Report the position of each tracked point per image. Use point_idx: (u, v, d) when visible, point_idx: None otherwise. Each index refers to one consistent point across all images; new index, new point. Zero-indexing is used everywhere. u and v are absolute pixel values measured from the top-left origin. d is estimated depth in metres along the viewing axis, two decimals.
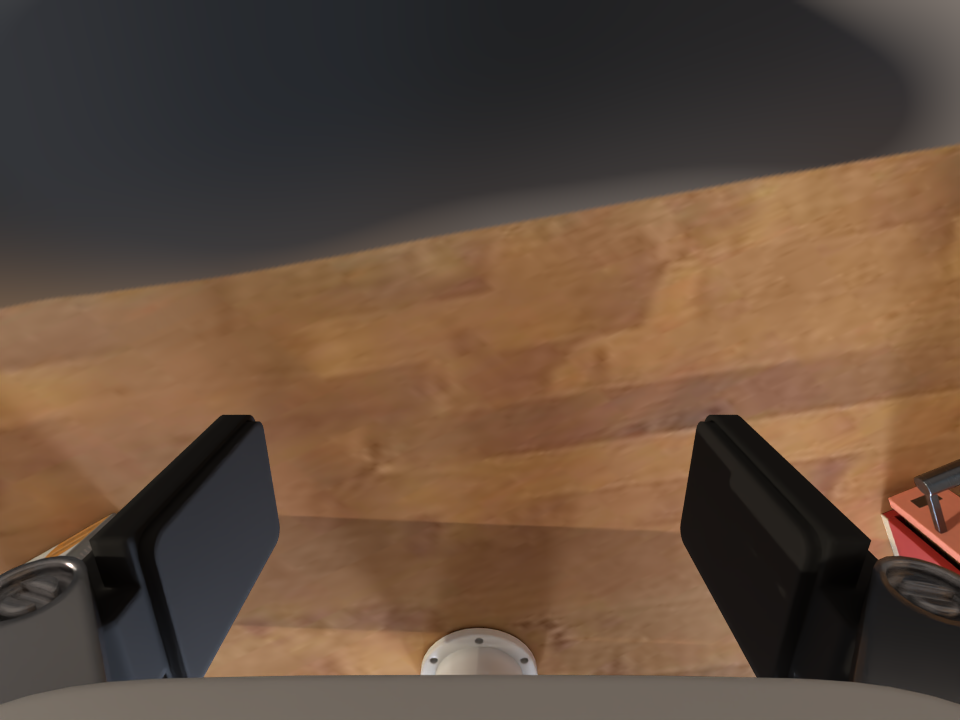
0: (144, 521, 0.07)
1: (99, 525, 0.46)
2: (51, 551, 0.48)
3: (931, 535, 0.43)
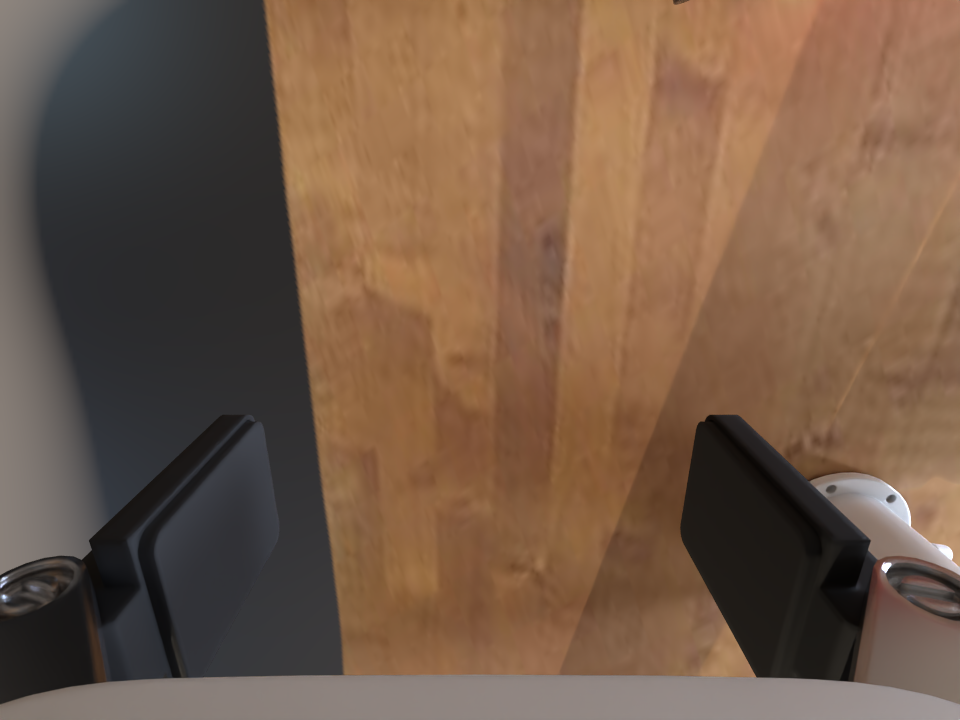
0: (144, 521, 0.07)
1: None
2: None
3: None
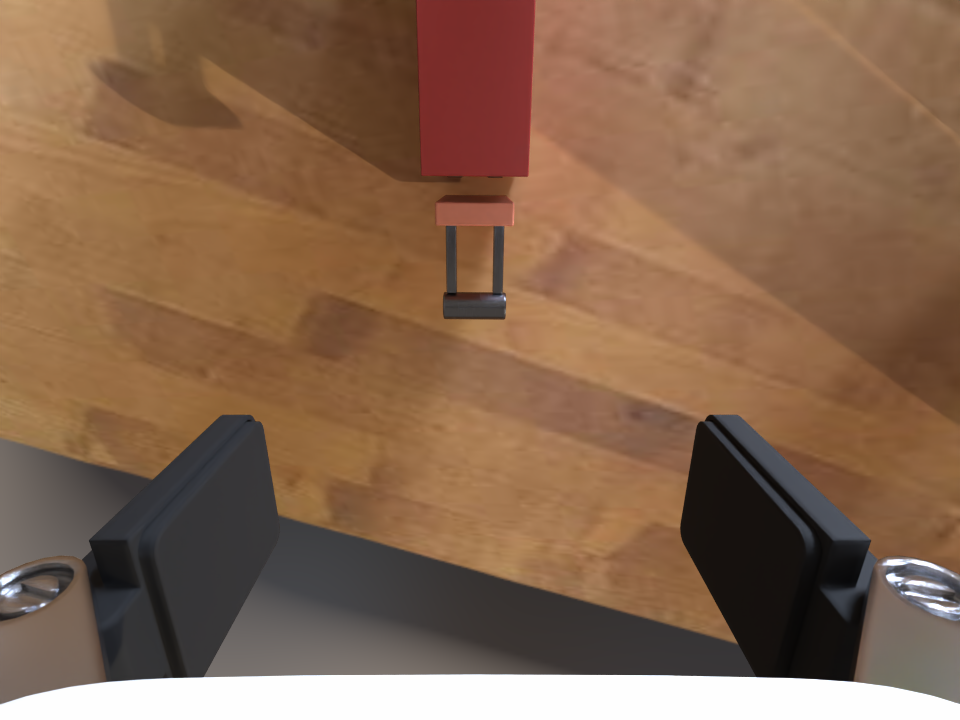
0: (144, 521, 0.07)
1: None
2: None
3: None
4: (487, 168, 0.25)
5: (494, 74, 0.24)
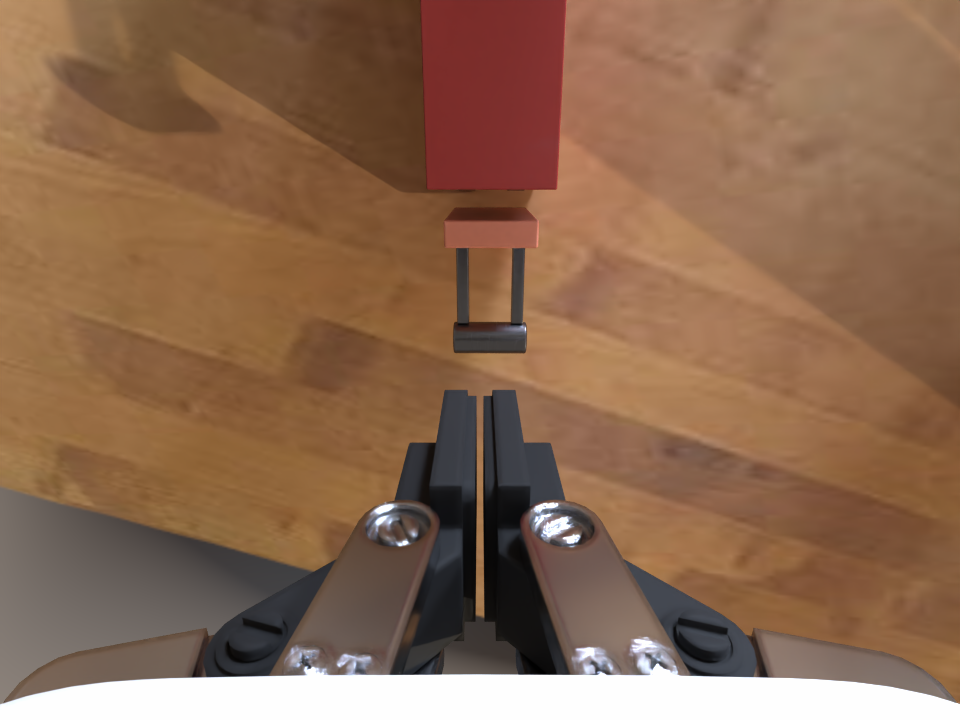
0: (459, 472, 0.08)
1: None
2: None
3: None
4: (507, 180, 0.21)
5: (516, 65, 0.19)
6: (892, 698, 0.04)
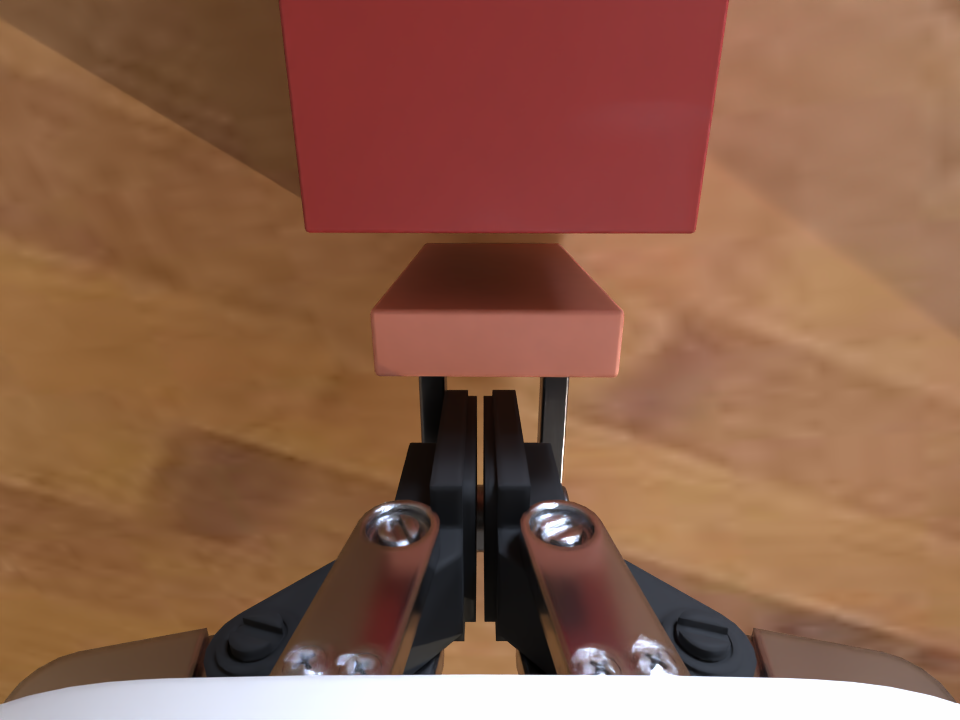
0: (459, 472, 0.08)
1: None
2: None
3: None
4: (546, 207, 0.07)
5: None
6: (892, 698, 0.04)
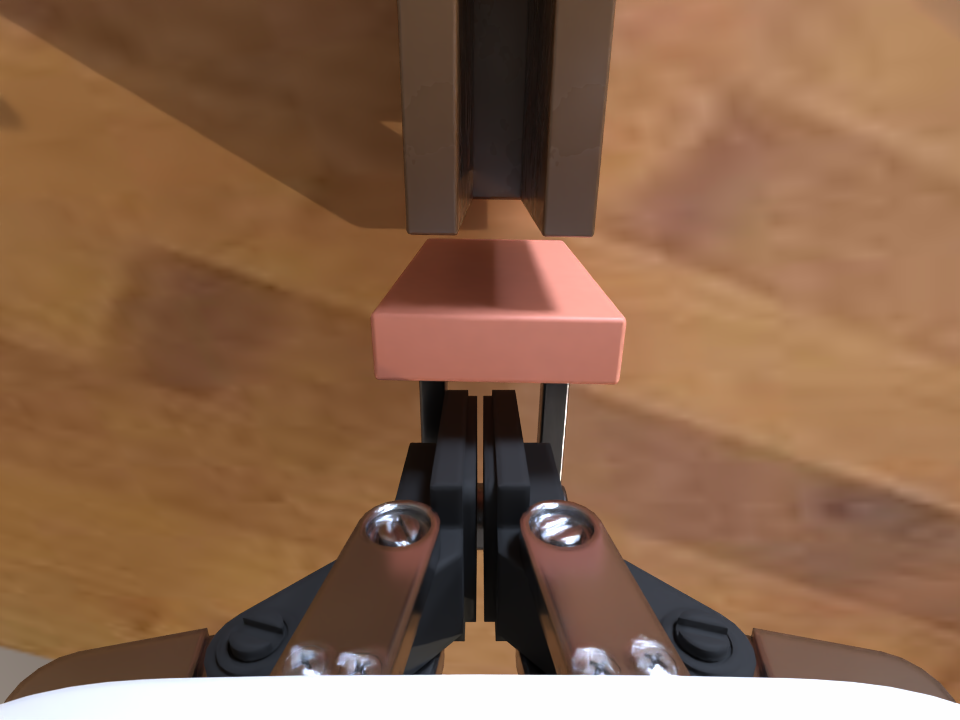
0: (460, 472, 0.08)
1: None
2: None
3: None
4: None
5: None
6: (892, 698, 0.04)
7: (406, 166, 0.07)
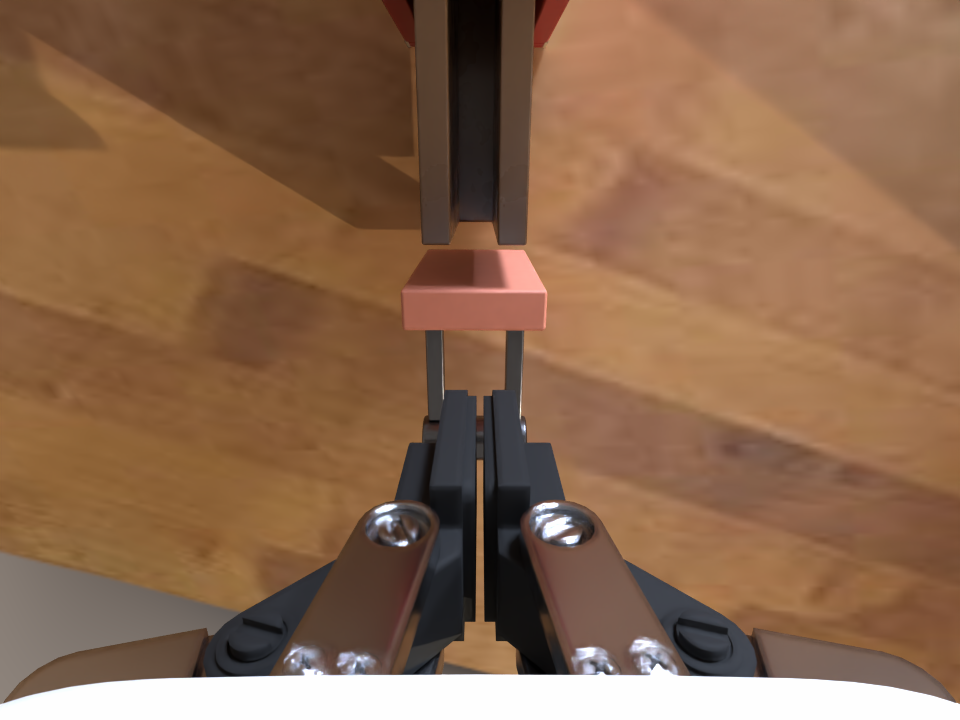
0: (459, 472, 0.08)
1: None
2: None
3: None
4: None
5: None
6: (892, 698, 0.04)
7: (422, 207, 0.14)
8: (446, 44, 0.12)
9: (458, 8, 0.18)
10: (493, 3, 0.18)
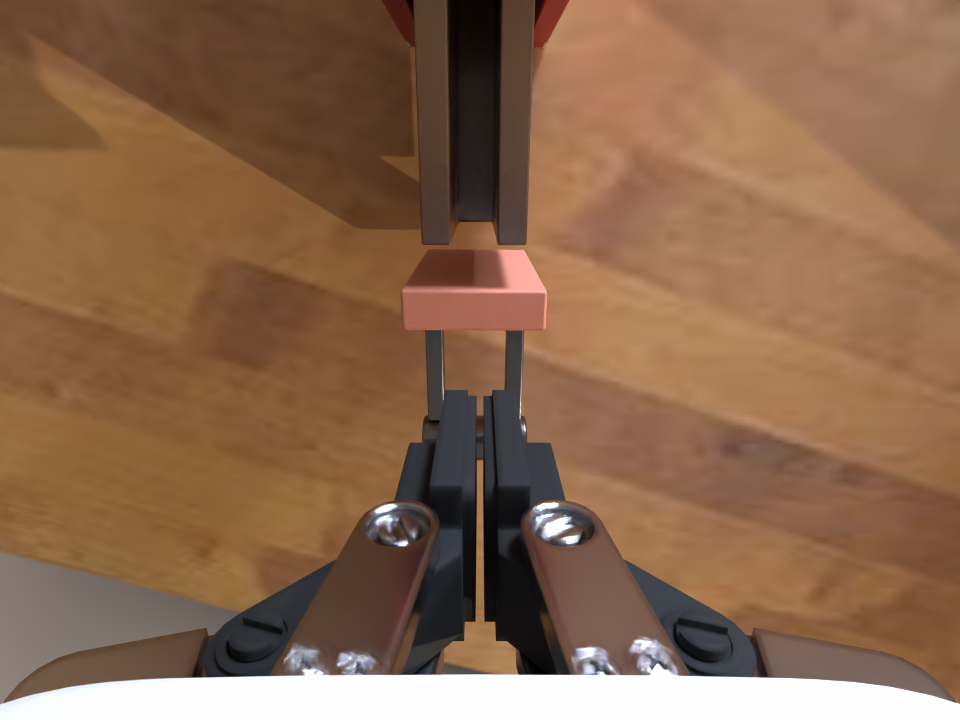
0: (459, 472, 0.08)
1: None
2: None
3: None
4: None
5: None
6: (892, 698, 0.04)
7: (422, 207, 0.14)
8: (446, 44, 0.12)
9: (458, 8, 0.18)
10: (493, 3, 0.18)
